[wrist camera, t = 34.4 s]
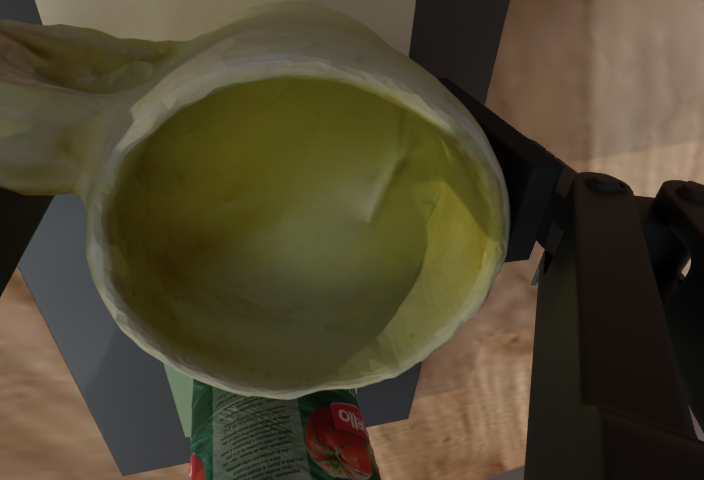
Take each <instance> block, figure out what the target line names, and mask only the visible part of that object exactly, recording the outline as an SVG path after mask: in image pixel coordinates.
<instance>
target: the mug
mask: <svg viewBox="0 0 704 480" xmlns="http://www.w3.org/2000/svg"><path fill="white" fill-rule="evenodd" d="M0 187H1V188H4V189H7V190H10V191H13V192H17V193H20V194H23V195H49V196H52V195H60V194H69V193H70V194H73V195H76V196H78V197H80V198H81V199H82V201H83V202H84V204H85V208H86V214H87V219H86V245H85V246H86V258H87V261H88V265H89V269H90V272H91V276H92V279H93V281H94V284H95V286H96V288H97V290H98V292H99V294H100V296H101V298H102V300H103V301H104V303H105V305H106V307H107V308H108V310H109V312H110V313H111V315H112V317H113V318H114V320H115V321H116V323H117V324H118V326H119V327H120V329H121V330H122V331H123V332H124V333H125V334H126V335H127V336H128V337H130V338H131V339H132V340H133V341H134V342H135V343H136V344H137V345H138V346H139V347H140V348H141V349H143V350H144V351H146V352H147V353H149V354H150V355H152V356H153V357H155V358H156V359H158V360H160V361H161V362H163V363H165V364H167V365H168V366H170V367H172V368H173V369H175V370H177V371H179V372H180V373H183V374H185V375H187V376H189V377H191V378H193V379H196V380H198V381H200V382H203V383H206V384H208V385H211V386H214V387H217V388H219V389H222V390H225V391H228V392H231V393H234V394H237V395H244V396H261V397H267V398H274V399H286V400H290V399H294V398H299V397H301V396H304V395H307V394H310V393H314V392H317V391H321V390H331V389H352V388H359V387H364V386H366V385H369V384H373V383H377V382H380V381H382V380H384V379H389V378H395V377H397V376H398V375H400V374H402V373H403V372H405V371H406V370H408V369H410V368H411V367H412V366H414V365H415V364H416V363H418V362H420V361H422V360H424V359H426V358H427V357H428V356H429V355H430V354H431V353H433V352H434V351H435V350H436V349H437V348H439V347H440V346H442V345H443V344H444V343H446V342H447V341H449V340H450V339H452V338H453V337H454V336H455V334H456V333H457V332H458V330H459V329H460V328H461V326H462V325H463V324H464V323H465V322H466V321H467V320H468V319H470V318H471V317H473V316H474V315H476V314H477V313H479V311H480V309H481V308H482V306H483V304H484V303H485V301H486V299H487V298H488V295H489V293H490V291H491V288H492V285H493V282H494V280H495V278H496V276H497V275H498V273H499V272H500V270H501V269H502V266H503V264H504V261H505V258H506V255H507V250H508V244H509V236H510V203H509V195H508V191H507V187H506V183H505V179H504V175H503V171H502V169H501V166H500V164H499V162H498V160H497V158H496V156H495V154H494V152H493V150H492V147H491V145H490V143H489V141H488V139H487V137H486V135H485V133H484V131H483V129H482V128H481V127H480V125H479V124H478V122H477V121H476V120H475V118H474V117H473V115H472V114H471V113H470V112H469V111H468V109H467V108H466V107H465V106H464V105H463V104H462V103H461V102H460V101H459V100H458V99H457V98H456V97H455V96H454V95H453V94H452V93H451V92H450V91H449V90H448V89H447V88H446V87H445V86H444V85H443V84H442V83H441V82H440V81H439V80H438V79H437V78H436V77H434V76H433V75H432V74H430V73H429V72H428V71H427V70H425V69H424V68H423V67H421V66H420V65H419V64H417V63H416V62H414V61H413V60H411V59H410V58H409V57H407V56H406V55H404V54H403V53H401V52H399V51H397V50H395V49H393V48H391V47H390V46H389V45H388V44H387V43H386V42H385V41H384V40H383V39H382V38H381V37H379V36H378V35H377V34H376V33H375V32H373V31H372V30H371V29H369V28H368V27H367V26H365V25H364V24H363V23H361V22H359V21H357V20H355V19H354V18H352V17H350V16H348V15H346V14H344V13H342V12H340V11H337V10H334V9H331V8H328V7H325V6H322V5H318V4H314V3H310V2H304V1H295V0H287V1H280V2H273V3H267V4H262V5H258V6H254V7H251V8H249V9H246V10H243V11H241V12H239V13H238V14H236V15H235V16H233V17H231V18H230V19H228V20H227V21H225V22H223V23H221V24H219V25H217V26H215V27H213V28H211V29H209V30H207V31H205V32H204V33H202V34H201V35H199V36H198V37H196V38H194V39H192V40H188V41H172V40H166V41H157V42H154V41H151V40H142V39H134V38H125V39H119V38H117V37H114V36H112V35H109V34H107V33H104V32H102V31H99V30H95V29H91V28H80V27H75V26H69V25H64V24H56V25H33V24H28V23H23V22H19V21H14V20H0Z"/></svg>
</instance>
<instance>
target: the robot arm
mask: <svg viewBox="0 0 704 480" xmlns="http://www.w3.org/2000/svg"><path fill="white" fill-rule="evenodd" d="M437 79H438V80H439V81H440V82H441V83H442V84H443V85H444V86H445V87H446V88H447V89H448V90H449V91H450V92H451V93H452V94H453V95H454V96H455V97H456V98H457V99H458V100H459V101H460V102H461V103H462V104H463V105H464V106H465V107H466V108H467V109H468V111H469V112H470V113H471V114H472V115H473V117H474V118H475V120H476V121H477V122H478V124H479V125H480V127H481V128H482V129H483V131H484V133H485V135H486V137H487V139H488V141H489V143H490V145H491V147H492V150H493V152H494V154H495V156H496V158H497V160H498V162H499V164H500V166H501V169H502V171H503V175H504V179H505V183H506V187H507V191H508V195H509V203H510V236H509V244H508V250H507V255H506V258H505V261H504V262H512V261H520V260H528V259H529V257H530V254H531V252H532V249H533V247H534V244H535V241H537V242H538V243H539V244H540V245H541V246H542V247H543V248H544V249H545V251H544V253H543V256H542V258H541V261H540V263H539V266H538V268H537V271H536V273H535V276H534V278H533V281H532V283H531V285H536V283H537V282H538V294H537V307H536V321H535V335H534V348H533V362H532V376H531V389H530V403H529V417H528V430H527V444H526V458H525V471H524V480H704V442H703V441H700V440H698V438H697V435H696V433H695V430H694V426H693V422H692V418H691V414H690V410H689V407H690V408H691V410H692V412H693V414H694V416H695V418H696V420H697V421H698V423H699V425H700V427H701V429H702V431H703V432H704V185H702V184H699V183H696V182H692V181H688V182H686V181H681V180H669V181H666V182H664V183H663V184H662V186H661V188H660V190H659V191H658V193H657V195H656V197H655V198H652V197H642V196H634V194H633V191H632V190H631V188H630V187H629V186H628V185H627V184H626V183H624V182H623V181H621V180H619V179H616V178H614V177H612V176H609V175H606V174H601V173H595V172H581V173H579V174H578V173H577V172H576V171H574V170H573V169H572V168H570V167H569V166H568V165H566V164H565V163H564V162H562V161H561V160H560V159H558V158H555V156H554V155H553V154H552V153H550V152H549V151H546V149H545V148H544V147H542V146H541V145H540V144H538V143H537V142H536V141H533V140H531V139H529V138H527V137H525V136H524V135H522V134H521V133H520V132H518V131H517V130H516V129H514V128H513V127H512V126H510V125H509V124H508V123H506V122H505V121H504V120H502V119H501V118H500V117H498V116H497V115H496V114H494V113H493V112H492V111H491V110H489V109H488V108H487V107H485V106H484V105H483V104H481V103H480V102H479V101H477V100H476V99H475V98H473V97H472V96H471V95H469V94H468V93H467V92H465V91H464V90H463V89H461V88H460V87H459V86H457V85H456V84H455V83H453V82H452V81H451V80H450V79H448V78H437ZM54 196H55V195H52V196H49V195H23V194H20V193H17V192H13V191H10V190H7V189H4V188H1V187H0V297H1V295H2V293H3V291H4V289H5V287H6V285H7V284H8V282H9V280H10V278H11V276H12V274H13V272H14V270H15V269H16V267H17V265H18V263H19V261H20V259H21V257H22V256H23V254H24V252H25V250H26V248H27V246H28V244H29V243H30V241H31V239H32V237H33V235H34V233H35V231H36V230H37V228H38V226H39V224H40V222H41V220H42V218H43V216H44V215H45V213H46V211H47V209H48V207H49V205H50V203H51V202H52V200H53V198H54ZM690 258H691V266H690V269H689V271H688V274H687V275H686V277H684V275H683V274H682V273H681V272H682V270H683V269H684V267H685V266H686V264H687V263H688V261H689V260H690ZM688 405H689V406H688Z"/></svg>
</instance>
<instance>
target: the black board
mask: <svg viewBox="0 0 704 480" xmlns="http://www.w3.org/2000/svg"><path fill="white" fill-rule="evenodd" d="M280 1H287V0H0V20H14V21H19V22H23V23H28V24H33V25H56V24H64V25H69V26H75V27H80V28H91V29H95V30H99V31H102V32H104V33H107V34H109V35H112V36H114V37H117V38H119V39H125V38H134V39H142V40H151V41H154V42H157V41H166V40H172V41H188V40H192V39H194V38H196V37H198V36H199V35H201V34H202V33H204V32H205V31H207V30H209V29H211V28H213V27H215V26H217V25H219V24H221V23H223V22H225V21H227V20H228V19H230V18H231V17H233V16H235V15H236V14H238V13H239V12H241V11H243V10H246V9H249V8H251V7H254V6H258V5H262V4H267V3H273V2H280ZM295 1H304V2H310V3H314V4H318V5H322V6H325V7H328V8H331V9H334V10H337V11H340V12H342V13H344V14H346V15H348V16H350V17H352V18H354V19H355V20H357V21H359V22H361V23H363V24H364V25H365V26H367V27H368V28H369V29H371V30H372V31H373V32H375V33H376V34H377V35H378V36H379V37H381V38H382V39H383V40H384V41H385V42H386V43H387V44H388V45H389V46H390V47H391V48H393V49H395V50H397V51H399V52H401V53H403V54H404V55H406V56H407V57H409V58H410V59H411V60H413V61H414V62H416V63H417V64H419V65H420V66H421V67H423V68H424V69H425V70H427V71H428V72H429V73H430V74H432V75H433V76H434V77H436V78H448V79H450V80H451V81H452V82H453V83H455V84H456V85H457V86H459V87H460V88H461V89H463V90H464V91H465V92H467V93H468V94H469V95H471V96H472V97H473V98H475V99H476V100H477V101H479V102H480V103H481V104H483V105H484V104H485V100H486V96H487V92H488V88H489V84H490V80H491V76H492V71H493V67H494V63H495V59H496V55H497V51H498V47H499V43H500V39H501V34H502V30H503V26H504V22H505V18H506V14H507V10H508V6H509V1H510V0H295ZM86 219H87V214H86V208H85V204H84V202H83V201H82V199H81V198H80V197H78V196H76V195H73V194H70V193H69V194H60V195H55V196H54V198H53V200H52V202H51V203H50V205H49V207H48V209H47V211H46V213H45V215H44V216H43V218H42V220H41V222H40V224H39V226H38V228H37V230H36V231H35V233H34V235H33V237H32V239H31V241H30V243H29V244H28V246H27V248H26V250H25V252H24V254H23V256H22V257H21V259H20V261H19V263H18V265H17V266H18V268H19V270H20V272H21V274H22V276H23V278H24V280H25V282H26V284H27V286H28V288H29V290H30V292H31V294H32V296H33V298H34V300H35V302H36V304H37V306H38V308H39V310H40V312H41V314H42V316H43V318H44V320H45V322H46V324H47V326H48V328H49V330H50V332H51V334H52V336H53V338H54V340H55V342H56V344H57V346H58V348H59V350H60V352H61V354H62V356H63V358H64V360H65V362H66V364H67V366H68V368H69V370H70V372H71V374H72V376H73V378H74V380H75V382H76V384H77V386H78V388H79V390H80V392H81V394H82V396H83V398H84V400H85V402H86V404H87V406H88V408H89V410H90V412H91V414H92V416H93V418H94V420H95V422H96V424H97V426H98V428H99V430H100V432H101V434H102V436H103V438H104V440H105V442H106V444H107V446H108V448H109V450H110V452H111V454H112V456H113V458H114V460H115V462H116V464H117V466H118V468H119V470H120V472H121V474H122V476H125V475H130V474H135V473H140V472H145V471H150V470H155V469H160V468H165V467H170V466H175V465H180V464H185V463H190V451H191V440H190V437H191V418H192V407H191V405H192V395H193V381H192V378H191V377H189V376H187V375H185V374H183V373H180V372H179V371H177V370H175V369H173V368H172V367H170V366H168V365H167V364H165V363H163V362H161V361H160V360H158V359H156V358H155V357H153V356H152V355H150V354H149V353H147V352H146V351H144V350H143V349H141V348H140V347H139V346H138V345H137V344H136V343H135V342H134V341H133V340H132V339H131V338H130V337H128V336H127V335H126V334H125V333H124V332H123V331H122V330H121V329H120V327H119V326H118V324H117V323H116V321H115V320H114V318H113V317H112V315H111V313H110V312H109V310H108V308H107V307H106V305H105V303H104V301H103V300H102V298H101V296H100V294H99V292H98V290H97V288H96V286H95V284H94V281H93V279H92V276H91V272H90V269H89V265H88V261H87V258H86V246H85V245H86ZM421 364H422V361H420V362H418V363H416V364H415V365H414V366H412V367H411V368H410V369H408V370H406V371H405V372H403V373H402V374H400V375H398V376H397V377H395V378H389V379H384V380H382V381H380V382H377V383H373V384H369V385H366V386H364V387H359V388H355V392H356V396H357V399H358V402H359V405H360V410H361V413H362V416H363V418H364V423H365V427H370V426H375V425H380V424H385V423H390V422H395V421H400V420H405V419H408V417H409V413H410V409H411V405H412V401H413V397H414V393H415V388H416V384H417V380H418V376H419V372H420V368H421Z"/></svg>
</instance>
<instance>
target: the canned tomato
mask: <svg viewBox="0 0 704 480" xmlns="http://www.w3.org/2000/svg"><path fill="white" fill-rule="evenodd" d="M192 381H193V395H192V405H191V407H192V418H191V437H190V440H191V451H190V471H189V480H381V478H380V474H379V469H378V467H377V464H376V461H375V457H374V452H373V449H372V447H371V444H370V440H369V435H368V432H367V430H366V427H365V423H364V418H363V416H362V413H361V410H360V405H359V402H358V399H357V396H356V392H355V388H352V389H331V390H321V391H317V392H314V393H310V394H307V395H304V396H301V397H299V398H294V399H290V400H286V399H274V398H267V397H261V396H244V395H237V394H234V393H231V392H228V391H225V390H222V389H219V388H217V387H214V386H211V385H208V384H206V383H203V382H200V381H198V380H196V379H193V378H192Z"/></svg>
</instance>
